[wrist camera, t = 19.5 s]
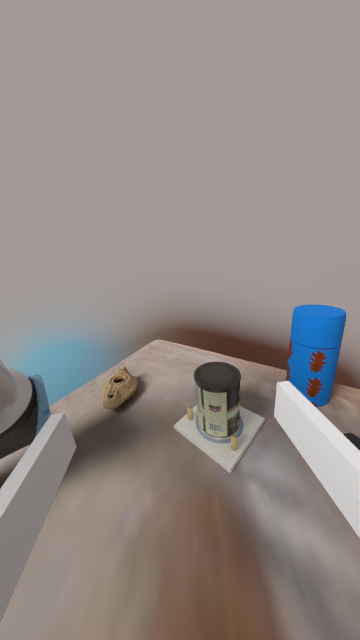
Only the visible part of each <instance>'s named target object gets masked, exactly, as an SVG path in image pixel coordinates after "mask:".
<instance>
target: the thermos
mask: <svg viewBox="0 0 360 640" xmlns="http://www.w3.org/2000/svg"><path fill="white" fill-rule="evenodd" d="M345 321H346V312H345V311H344V310H342V309H340V308H336V307H333V306H326V305H301V306H297V307H296V308H294V312H293V318H292V327H291V337H290V347H289V357H288V366H287V376H286V381H289V382H290V383H291V384H292V385H293V386H294V387H295V388H296V389H297V390H298V391H299V392H300V393H301V394H302V395H303V396H305V397H306V398H307V399H308V400H309V401H310V402H311V403H312V404H313V405H314V406H315V407H319V406H324V405H326V404H327V403H328V401H329V398H330V395H331V391H332V388H333V382H334V377H335V372H336V367H337V362H338V357H339V352H340V346H341V342H342V337H343V331H344V326H345Z"/></svg>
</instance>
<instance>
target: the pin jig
mask: <svg viewBox="0 0 360 640" xmlns="http://www.w3.org/2000/svg"><path fill="white" fill-rule="evenodd" d="M264 422H265V418H263V417H261V416H259V415H257V414H255V413H253V412H251V411H249V410H247V409H245V408H243V407H241V406H240V429H239V431H238V433H237V434H236V435H234V434H233V435H231V438H230V439H228V440H215V439H212V438H209V437H208V436H206V435H205V434H204V433H203V432H202V431H201V429H200V428H199V424H198V410H197V405H196V406H195V407H194V408H192V407H188V408H187V414H186V415H185V416H184V417H183V418H181V419H180V420H179V421H178V422H177V423H176V424H175V425H174V429H175V430H177V431H178V432H179V433H180V434H182V435H183V436H184V437H185V438H187V439H188V440H189V441H191V442H192V443H193V444H194V445H196V446H197V447H198V448H199V449H201V450H202V451H203V452H204V453H206V454H207V455H208V456H209V457H211V458H212V459H213V460H214V461H216V462H217V463H218V464H219V465H221V466H222V467H223V468H224V469H226V470H227V471H228V472H230V473H231V472H232V471H233V469H234V467H235V466H236V464H237V463H238V461H239V460H240V458H241V457H242V455H243V454H244V452H245V451H246V449H247V448H248V446H249V445H250V443H251V441H252V440H253V438H254V437H255V435H256V434H257V432H258V431H259V429H260V428H261V426H262V425H263V423H264Z"/></svg>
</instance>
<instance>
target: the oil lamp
mask: <svg viewBox="0 0 360 640" xmlns="http://www.w3.org/2000/svg"><path fill="white" fill-rule="evenodd" d="M136 389H137V379H136V378H135V377H134V376H132V375H131V374H130V373H129V372H128V370H127V369H126V368H125V367H124V366H122V367H120V368H119V374H116V375H115V376H113V377H111V378H110V379H109V380H108V381H107V382H106V383H105V385H104V386H103V388H102V399H103V404H104V408H106V409H116V408H118V407H119V406H120V405H121V404H122V403H123V402H124V401H126V400H127V399H128V398H129V397H130V396H132V395H133V394H134V392H135V391H136Z"/></svg>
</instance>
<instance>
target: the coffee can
mask: <svg viewBox="0 0 360 640" xmlns="http://www.w3.org/2000/svg"><path fill="white" fill-rule="evenodd" d="M194 379H195V386H196V398H197V410H198V424H199V428H200V429H201V431H202V432H203V433H204V434H205V435H206V436H208V437H209V438H212V439H215V440H228V439H230V438H231V435H233V434H234V435H236V434H237V433H238V431H239V429H240V379H241V374H240V372H239V370H238V369H237V368H236V367H234V366H233V365H230V364H228V363H224V362H209V363H205V364H203V365H201V366H199V367H198V368H197V369H196V370H195V372H194Z"/></svg>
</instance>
